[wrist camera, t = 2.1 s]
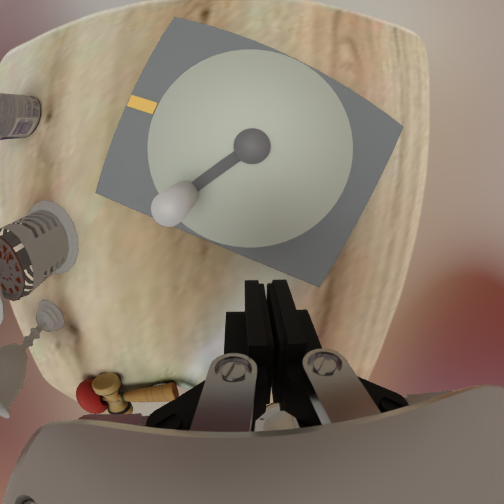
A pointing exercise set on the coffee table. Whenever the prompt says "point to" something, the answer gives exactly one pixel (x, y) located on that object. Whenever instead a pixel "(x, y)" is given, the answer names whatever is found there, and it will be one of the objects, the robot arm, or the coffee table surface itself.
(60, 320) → the chalice
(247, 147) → the dial
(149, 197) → the board
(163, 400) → the kendama
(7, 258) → the french press
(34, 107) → the energy drink
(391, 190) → the coffee table surface
